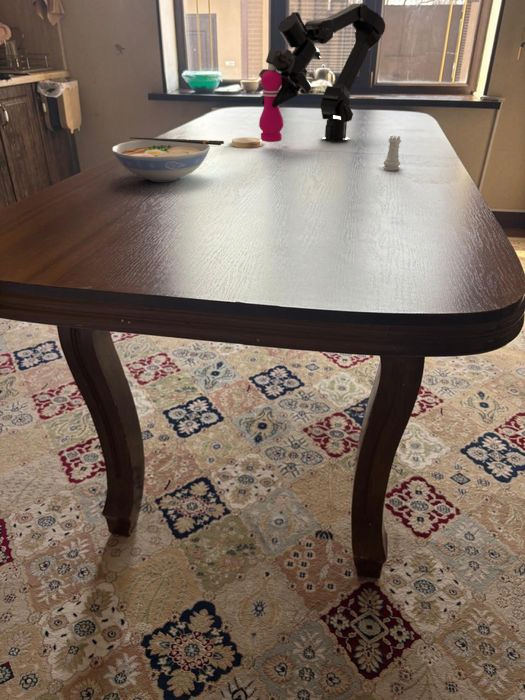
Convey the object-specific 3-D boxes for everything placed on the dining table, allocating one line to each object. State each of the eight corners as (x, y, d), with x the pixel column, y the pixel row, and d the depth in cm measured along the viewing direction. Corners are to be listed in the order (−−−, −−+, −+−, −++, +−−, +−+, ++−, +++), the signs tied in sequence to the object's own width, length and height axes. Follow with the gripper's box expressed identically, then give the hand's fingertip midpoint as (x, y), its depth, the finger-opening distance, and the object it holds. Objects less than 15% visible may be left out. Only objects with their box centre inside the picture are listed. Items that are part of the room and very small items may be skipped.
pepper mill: (256, 138, 158) (255, 63, 147) (278, 136, 160) (279, 62, 149) (263, 143, 153) (263, 66, 141) (286, 141, 154) (288, 64, 143)
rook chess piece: (401, 168, 137) (405, 135, 133) (397, 171, 134) (402, 138, 129) (384, 166, 139) (388, 134, 134) (380, 170, 135) (384, 137, 131)
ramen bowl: (92, 185, 121) (86, 147, 116) (144, 165, 139) (140, 132, 135) (189, 195, 113) (186, 156, 109) (230, 173, 132) (229, 138, 127)
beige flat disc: (250, 141, 170) (250, 136, 170) (267, 145, 164) (267, 140, 163) (225, 144, 165) (225, 139, 165) (242, 148, 159) (242, 143, 158)
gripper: (264, 37, 151) (233, 82, 151) (304, 38, 138) (270, 87, 138) (285, 67, 159) (255, 109, 159) (325, 70, 145) (293, 116, 146)
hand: (267, 105), depth 150 cm, fingers closed on pepper mill, 4 cm apart
